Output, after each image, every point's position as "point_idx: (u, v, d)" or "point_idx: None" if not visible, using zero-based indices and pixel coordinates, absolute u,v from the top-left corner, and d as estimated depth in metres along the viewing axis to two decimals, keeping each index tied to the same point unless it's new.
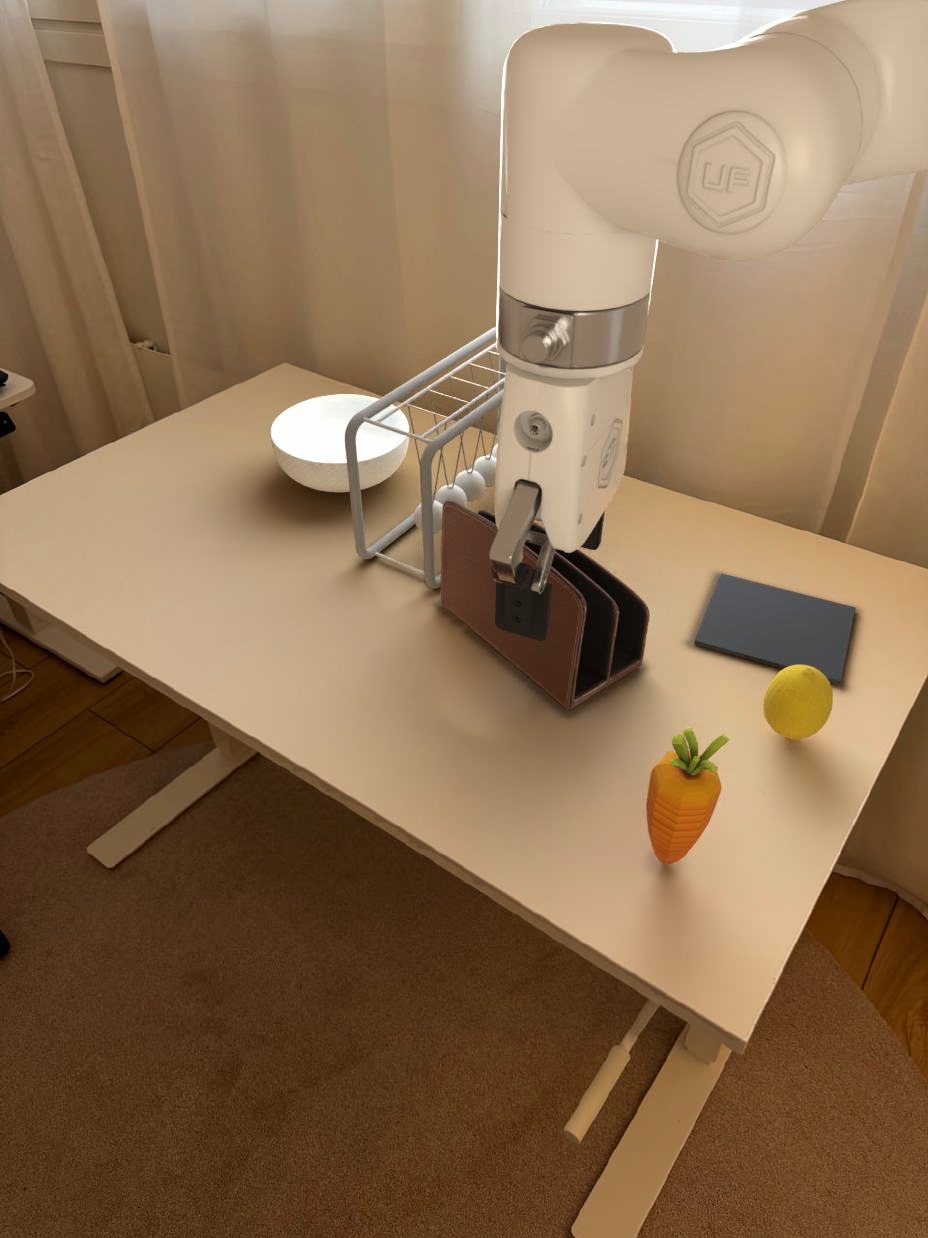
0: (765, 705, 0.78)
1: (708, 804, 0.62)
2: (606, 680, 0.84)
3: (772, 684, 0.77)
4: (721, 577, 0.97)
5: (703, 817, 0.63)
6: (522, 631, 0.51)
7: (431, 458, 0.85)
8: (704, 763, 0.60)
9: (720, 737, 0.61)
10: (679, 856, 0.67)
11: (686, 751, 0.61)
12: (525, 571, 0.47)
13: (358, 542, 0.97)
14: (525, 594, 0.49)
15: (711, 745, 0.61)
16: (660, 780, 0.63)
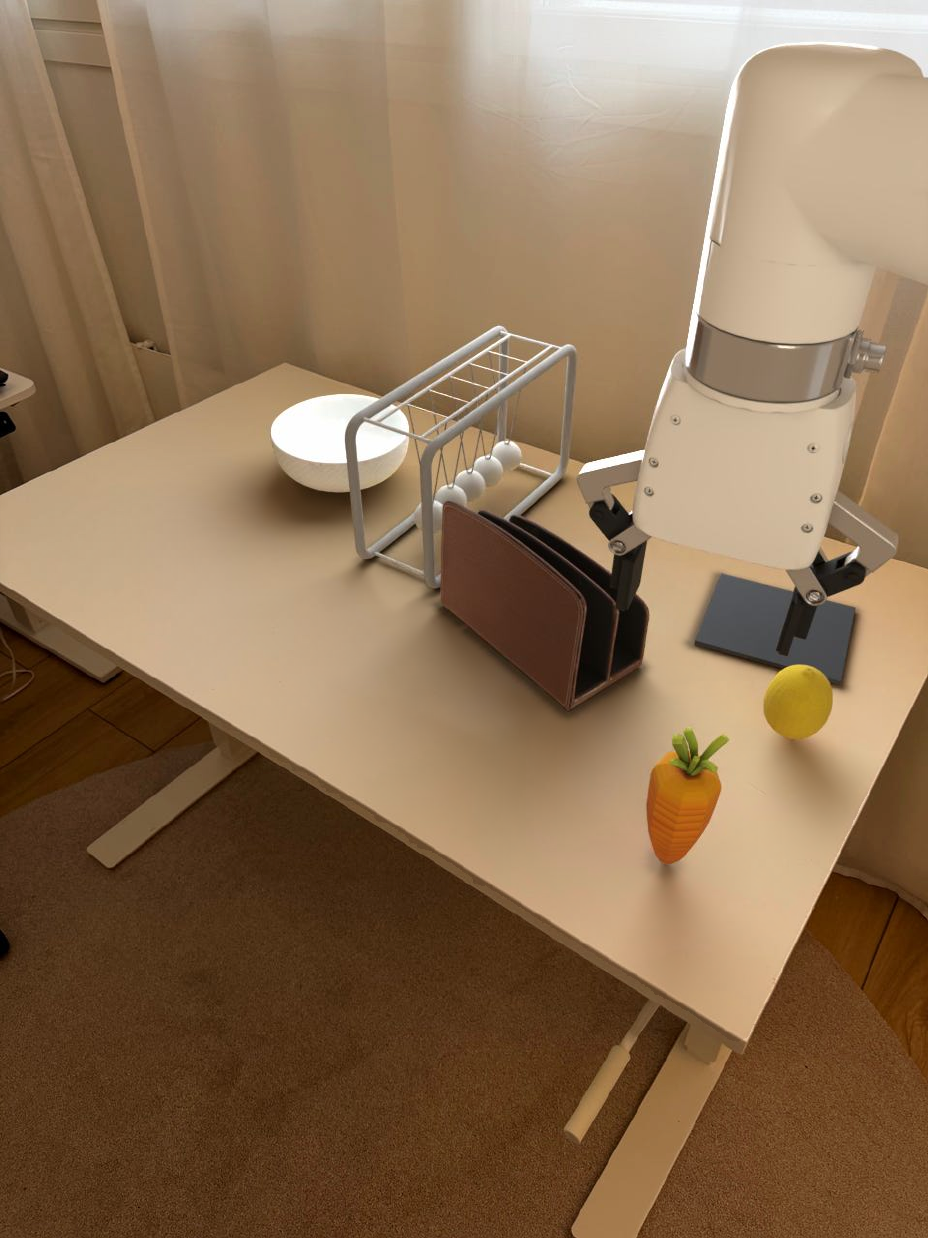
0: (765, 705, 0.78)
1: (708, 804, 0.62)
2: (606, 680, 0.84)
3: (772, 684, 0.77)
4: (721, 577, 0.97)
5: (703, 817, 0.63)
6: None
7: (431, 458, 0.85)
8: (704, 763, 0.60)
9: (720, 737, 0.61)
10: (679, 856, 0.67)
11: (686, 751, 0.61)
12: None
13: (358, 542, 0.97)
14: None
15: (711, 745, 0.61)
16: (660, 780, 0.63)
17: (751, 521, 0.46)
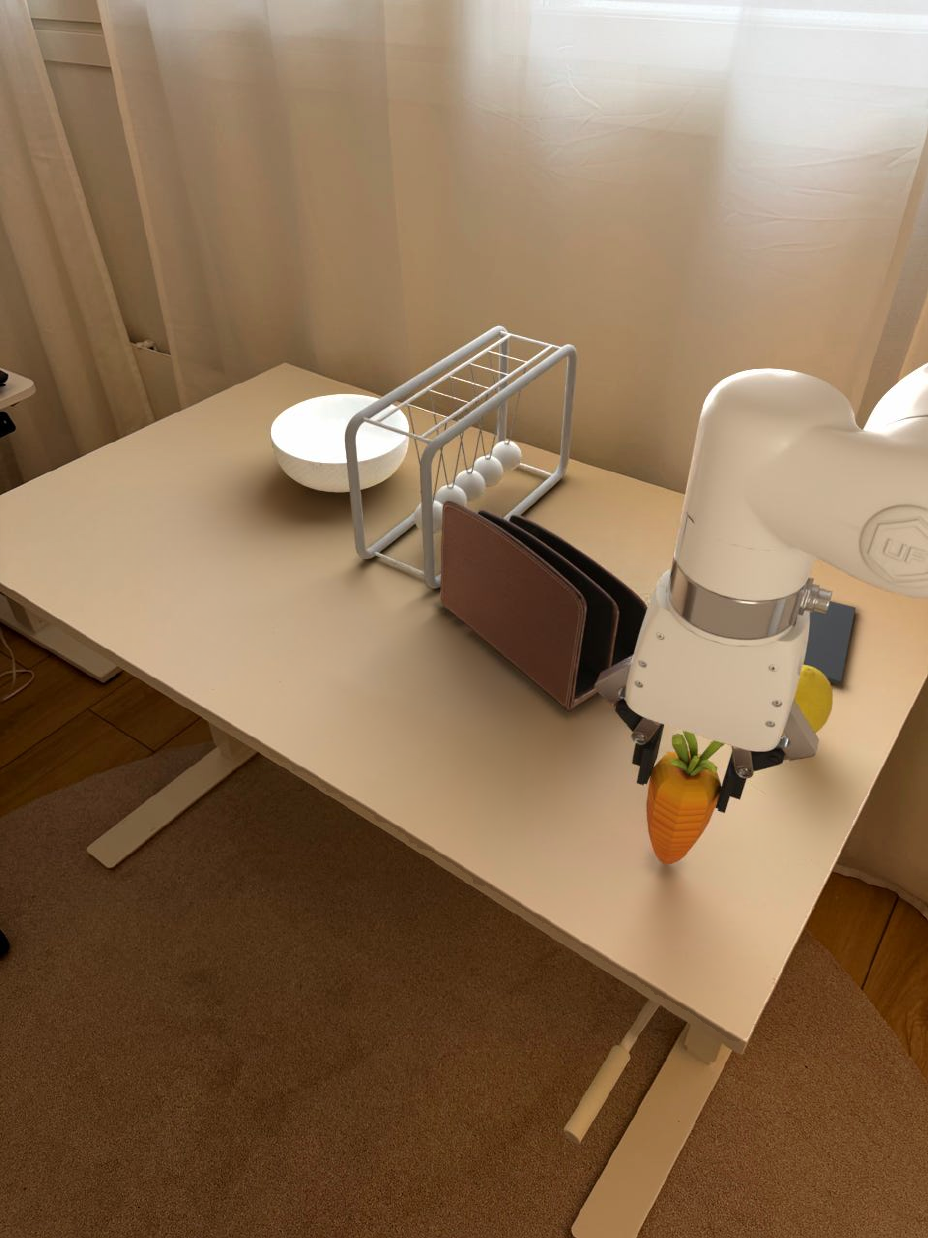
0: None
1: (708, 804, 0.62)
2: None
3: None
4: None
5: (703, 817, 0.63)
6: None
7: (431, 458, 0.85)
8: (704, 763, 0.60)
9: None
10: (679, 856, 0.67)
11: (686, 751, 0.61)
12: None
13: (358, 542, 0.97)
14: None
15: (711, 745, 0.61)
16: (659, 779, 0.63)
17: (724, 715, 0.55)
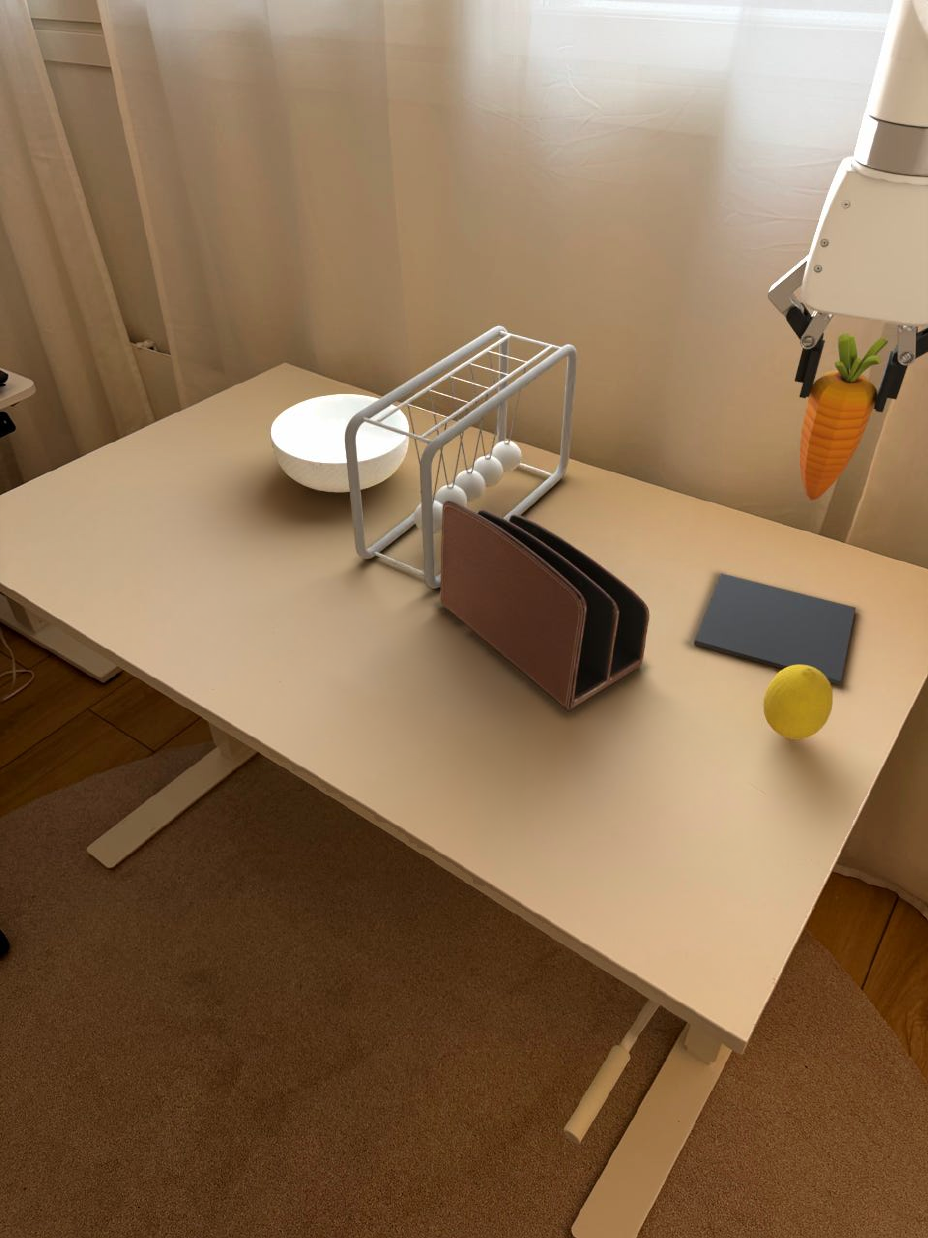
0: (765, 705, 0.78)
1: (867, 405, 0.70)
2: (606, 680, 0.84)
3: (772, 684, 0.77)
4: (721, 577, 0.97)
5: (860, 422, 0.70)
6: None
7: (431, 458, 0.85)
8: (867, 359, 0.68)
9: (880, 339, 0.68)
10: (830, 479, 0.75)
11: (849, 354, 0.69)
12: None
13: (358, 542, 0.97)
14: None
15: (871, 348, 0.69)
16: (822, 387, 0.70)
17: (898, 283, 0.63)
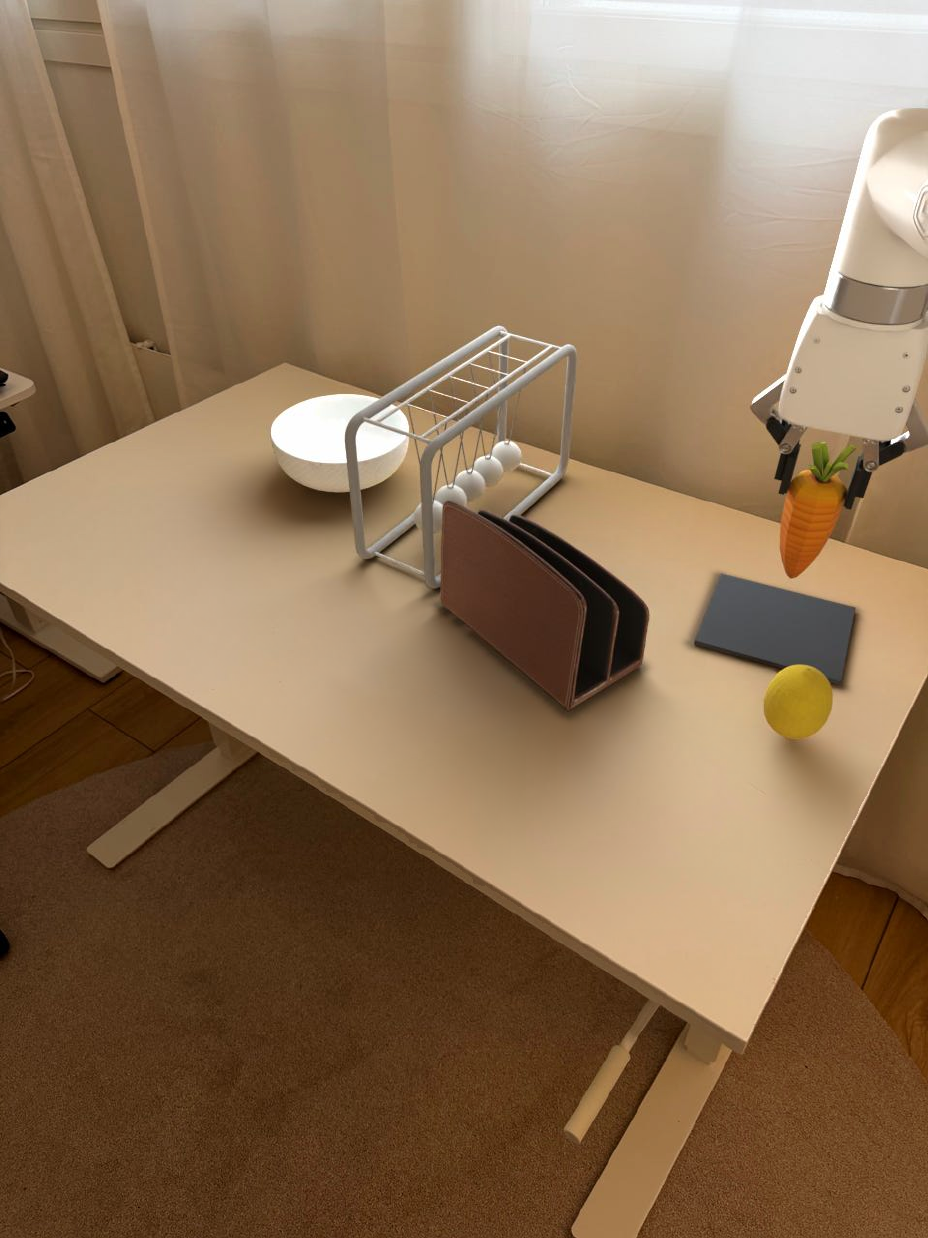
0: (765, 705, 0.78)
1: (837, 503, 0.79)
2: (606, 680, 0.84)
3: (772, 684, 0.77)
4: (721, 577, 0.97)
5: (832, 516, 0.80)
6: None
7: (431, 458, 0.85)
8: (837, 464, 0.77)
9: (849, 446, 0.78)
10: (806, 563, 0.84)
11: (821, 458, 0.78)
12: None
13: (358, 542, 0.97)
14: None
15: (841, 454, 0.78)
16: (798, 486, 0.80)
17: (862, 406, 0.72)
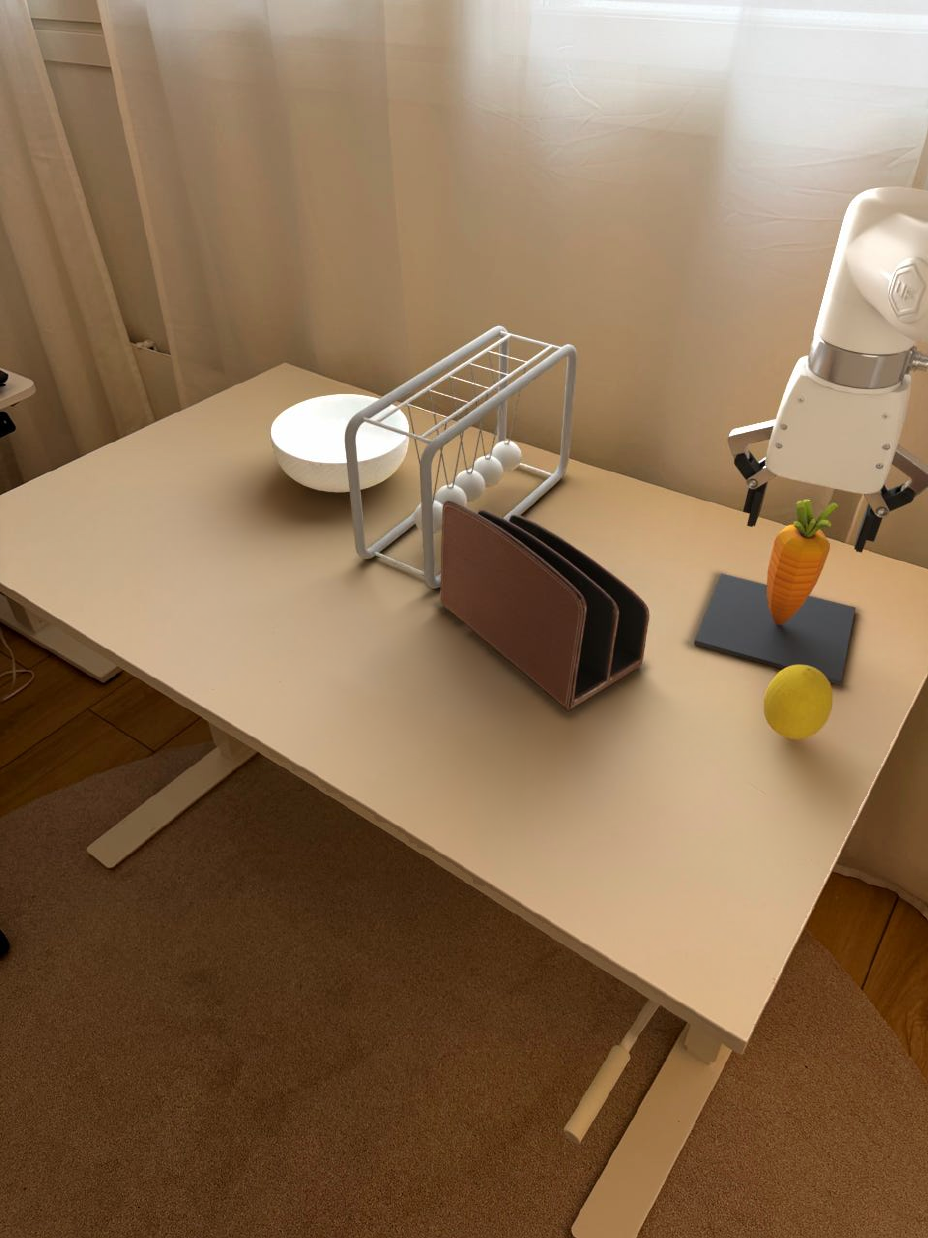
0: (765, 705, 0.78)
1: (821, 557, 0.83)
2: (606, 680, 0.84)
3: (772, 684, 0.77)
4: (721, 577, 0.97)
5: (816, 570, 0.84)
6: None
7: (431, 458, 0.85)
8: (820, 522, 0.81)
9: (831, 504, 0.82)
10: (792, 612, 0.88)
11: (805, 516, 0.82)
12: None
13: (358, 542, 0.97)
14: None
15: (824, 511, 0.82)
16: (784, 541, 0.83)
17: (844, 462, 0.75)
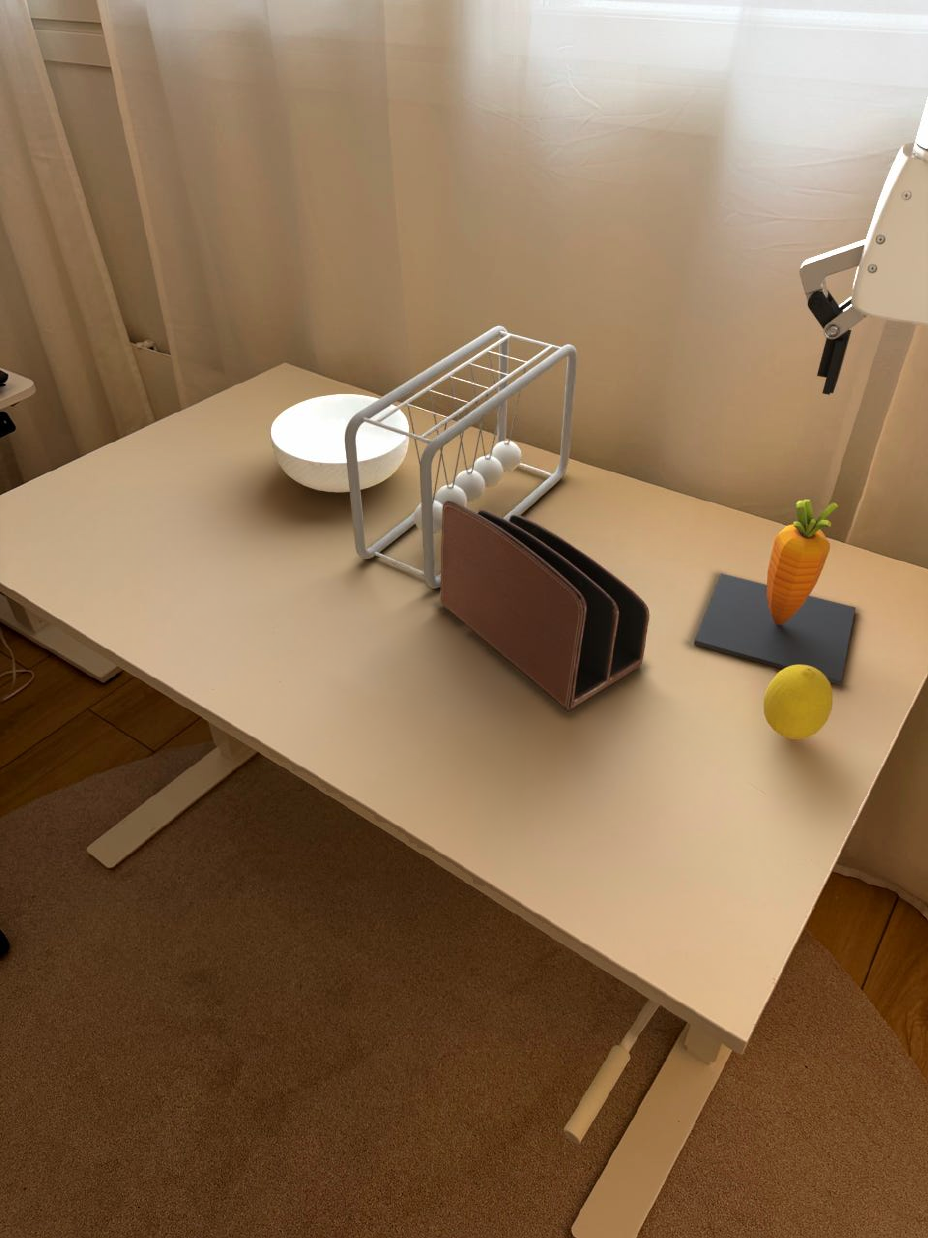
0: (765, 705, 0.78)
1: (821, 557, 0.83)
2: (606, 680, 0.84)
3: (772, 684, 0.77)
4: (721, 577, 0.97)
5: (816, 570, 0.84)
6: None
7: (431, 458, 0.85)
8: (820, 522, 0.81)
9: (831, 504, 0.82)
10: (792, 612, 0.88)
11: (805, 516, 0.82)
12: None
13: (358, 542, 0.97)
14: None
15: (824, 511, 0.82)
16: (784, 541, 0.83)
17: None
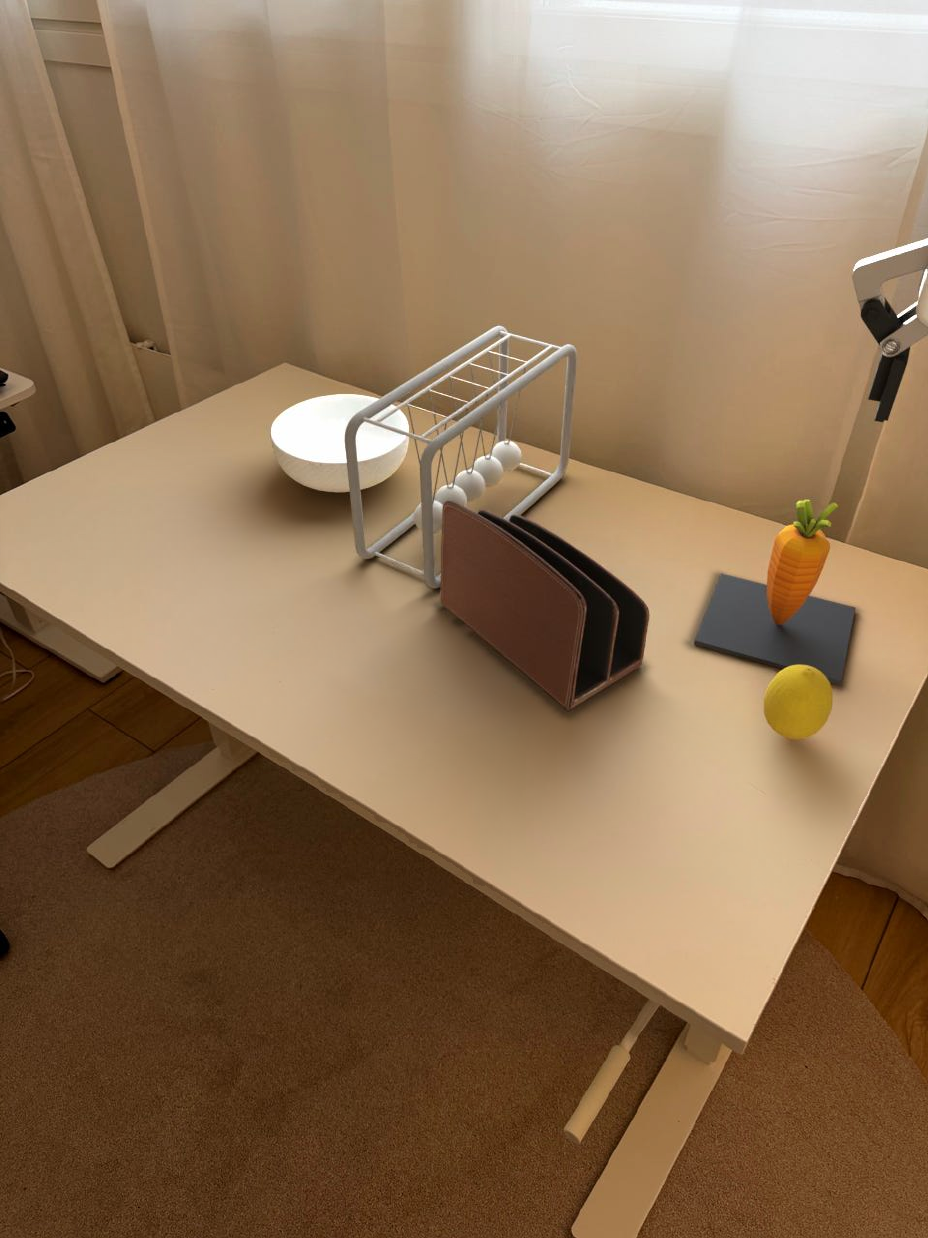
0: (765, 705, 0.78)
1: (821, 557, 0.83)
2: (606, 680, 0.84)
3: (772, 684, 0.77)
4: (721, 577, 0.97)
5: (816, 570, 0.84)
6: None
7: (431, 458, 0.85)
8: (820, 522, 0.81)
9: (831, 504, 0.82)
10: (792, 612, 0.88)
11: (805, 516, 0.82)
12: None
13: (358, 542, 0.97)
14: None
15: (824, 511, 0.82)
16: (784, 541, 0.83)
17: None
